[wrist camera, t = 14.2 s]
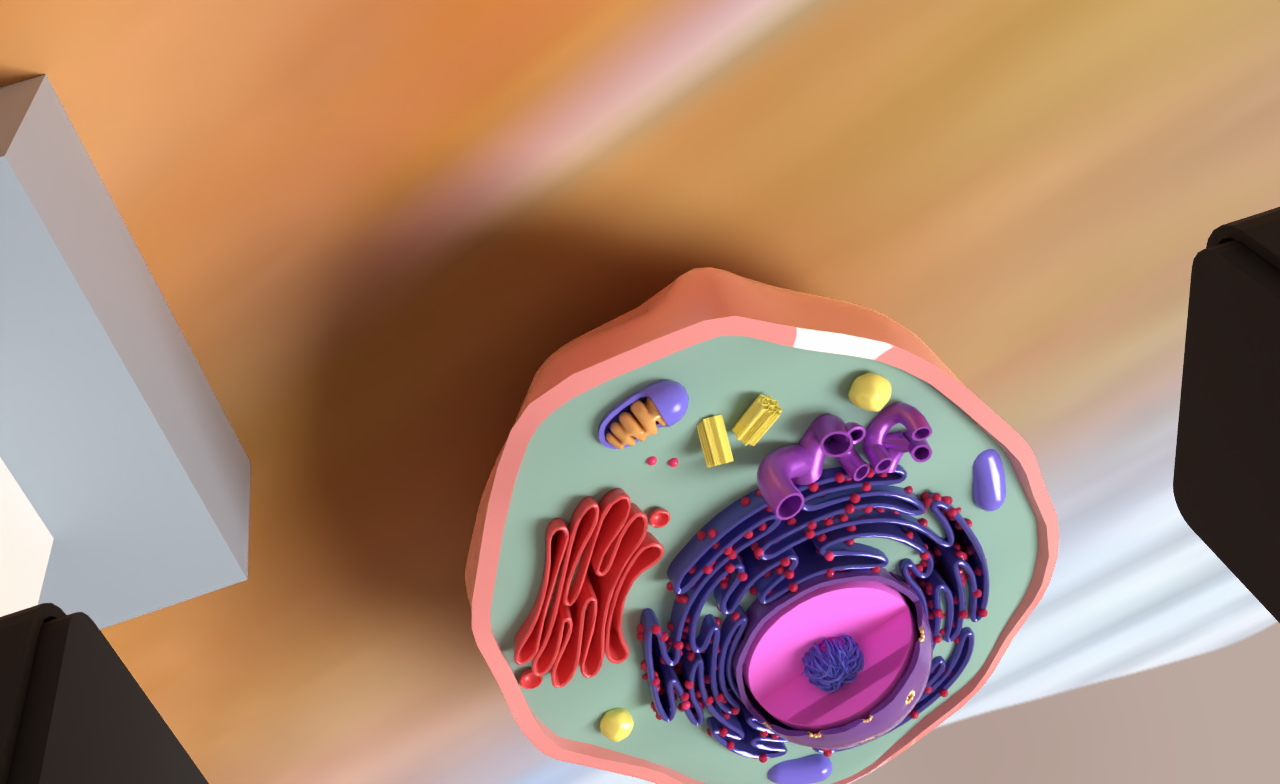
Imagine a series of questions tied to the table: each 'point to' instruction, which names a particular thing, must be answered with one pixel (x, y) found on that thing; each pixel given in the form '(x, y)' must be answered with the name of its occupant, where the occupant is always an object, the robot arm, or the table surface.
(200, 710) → the table surface
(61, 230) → the base box
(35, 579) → the cream matte cube
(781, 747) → the cell model
